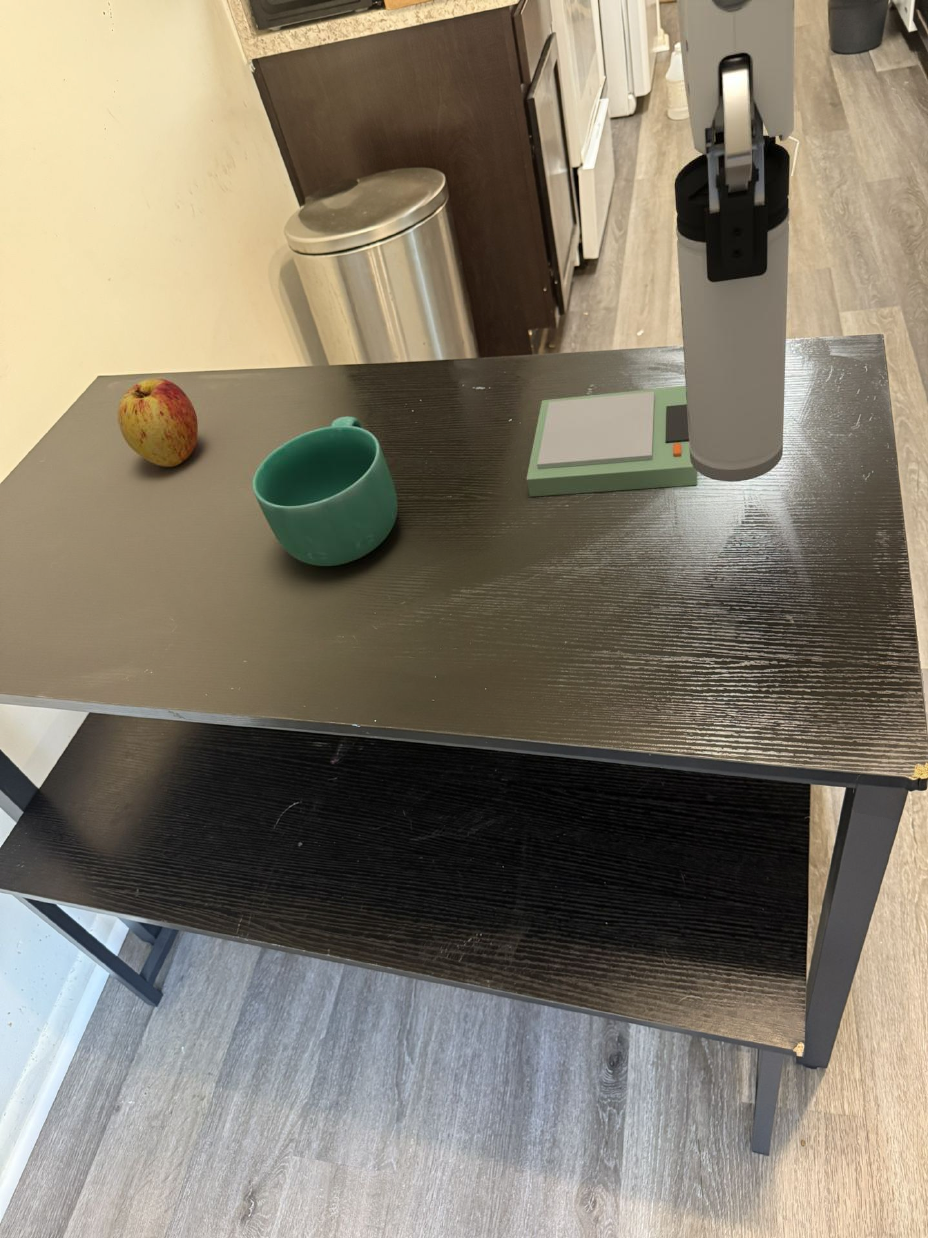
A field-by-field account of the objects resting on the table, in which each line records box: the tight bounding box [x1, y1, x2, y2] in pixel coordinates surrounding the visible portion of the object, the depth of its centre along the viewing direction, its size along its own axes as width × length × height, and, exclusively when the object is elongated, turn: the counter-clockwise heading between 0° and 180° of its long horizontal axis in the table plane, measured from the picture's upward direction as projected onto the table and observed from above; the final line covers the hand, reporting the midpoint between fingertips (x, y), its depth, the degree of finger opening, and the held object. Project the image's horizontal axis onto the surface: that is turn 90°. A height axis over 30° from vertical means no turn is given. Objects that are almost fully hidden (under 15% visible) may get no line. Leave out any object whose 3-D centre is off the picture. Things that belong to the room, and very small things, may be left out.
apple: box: [117, 378, 199, 468], centre depth 104 cm, size 9×9×10 cm
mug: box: [252, 416, 399, 567], centre depth 85 cm, size 17×13×10 cm
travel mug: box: [673, 134, 791, 483], centre depth 55 cm, size 6×7×20 cm
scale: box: [525, 385, 698, 498], centre depth 87 cm, size 16×14×3 cm
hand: (733, 246), depth 51 cm, fingers closed on travel mug, 6 cm apart
